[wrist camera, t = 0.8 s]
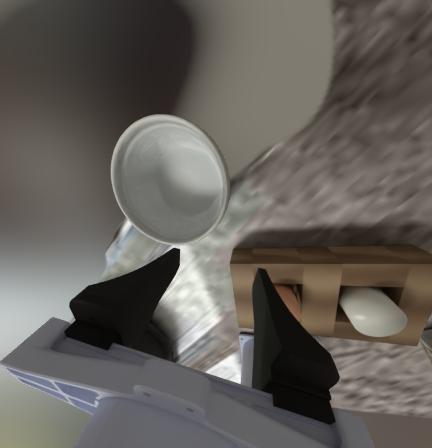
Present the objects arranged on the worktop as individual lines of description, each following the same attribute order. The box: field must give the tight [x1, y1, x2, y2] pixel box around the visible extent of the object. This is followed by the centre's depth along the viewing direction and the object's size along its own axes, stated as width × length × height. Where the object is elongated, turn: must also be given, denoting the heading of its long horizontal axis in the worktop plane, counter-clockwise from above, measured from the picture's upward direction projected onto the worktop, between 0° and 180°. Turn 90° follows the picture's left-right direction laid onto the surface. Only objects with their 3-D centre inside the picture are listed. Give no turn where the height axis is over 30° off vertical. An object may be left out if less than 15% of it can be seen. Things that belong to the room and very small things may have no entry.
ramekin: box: [111, 114, 230, 245], centre depth 19 cm, size 13×13×7 cm
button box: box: [230, 245, 432, 346], centre depth 22 cm, size 12×22×4 cm, turn 99°
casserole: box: [137, 323, 173, 362], centre depth 35 cm, size 25×19×8 cm
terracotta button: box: [273, 283, 302, 321], centre depth 21 cm, size 5×5×4 cm
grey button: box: [338, 285, 408, 337], centre depth 18 cm, size 5×5×4 cm
